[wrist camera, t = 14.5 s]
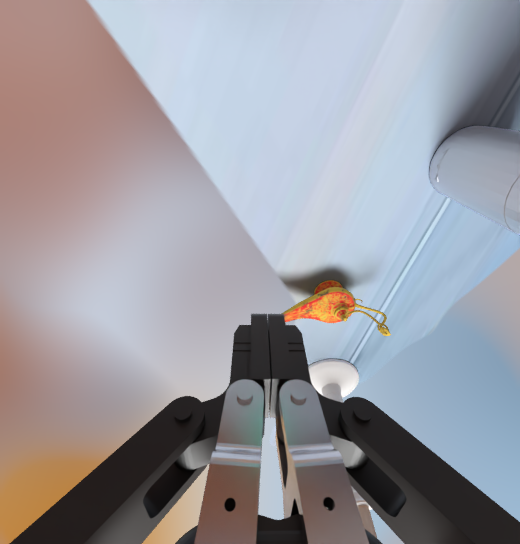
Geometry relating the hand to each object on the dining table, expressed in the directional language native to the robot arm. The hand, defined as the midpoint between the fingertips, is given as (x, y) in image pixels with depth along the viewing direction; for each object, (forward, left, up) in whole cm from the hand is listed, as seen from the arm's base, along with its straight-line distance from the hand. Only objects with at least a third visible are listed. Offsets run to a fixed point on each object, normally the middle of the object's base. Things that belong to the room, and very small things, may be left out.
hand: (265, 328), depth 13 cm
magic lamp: (-11, +20, -31) cm, 39 cm away
